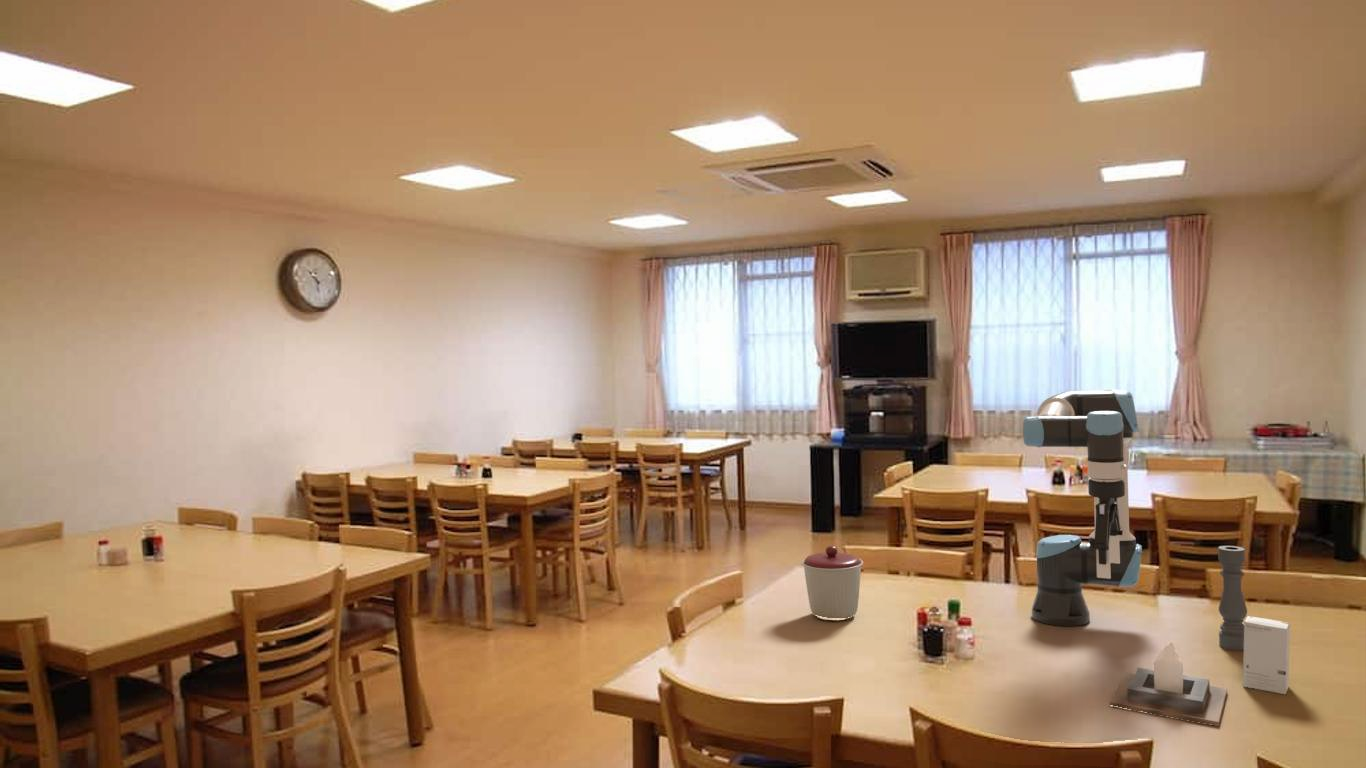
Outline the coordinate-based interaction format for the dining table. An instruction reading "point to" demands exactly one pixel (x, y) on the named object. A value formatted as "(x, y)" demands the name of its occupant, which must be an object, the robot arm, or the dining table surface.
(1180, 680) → the white bottle-shaped piece
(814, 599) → the canister
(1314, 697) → the dining table surface
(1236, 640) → the candle holder
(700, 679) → the dining table surface
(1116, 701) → the socket
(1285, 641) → the skincare box
